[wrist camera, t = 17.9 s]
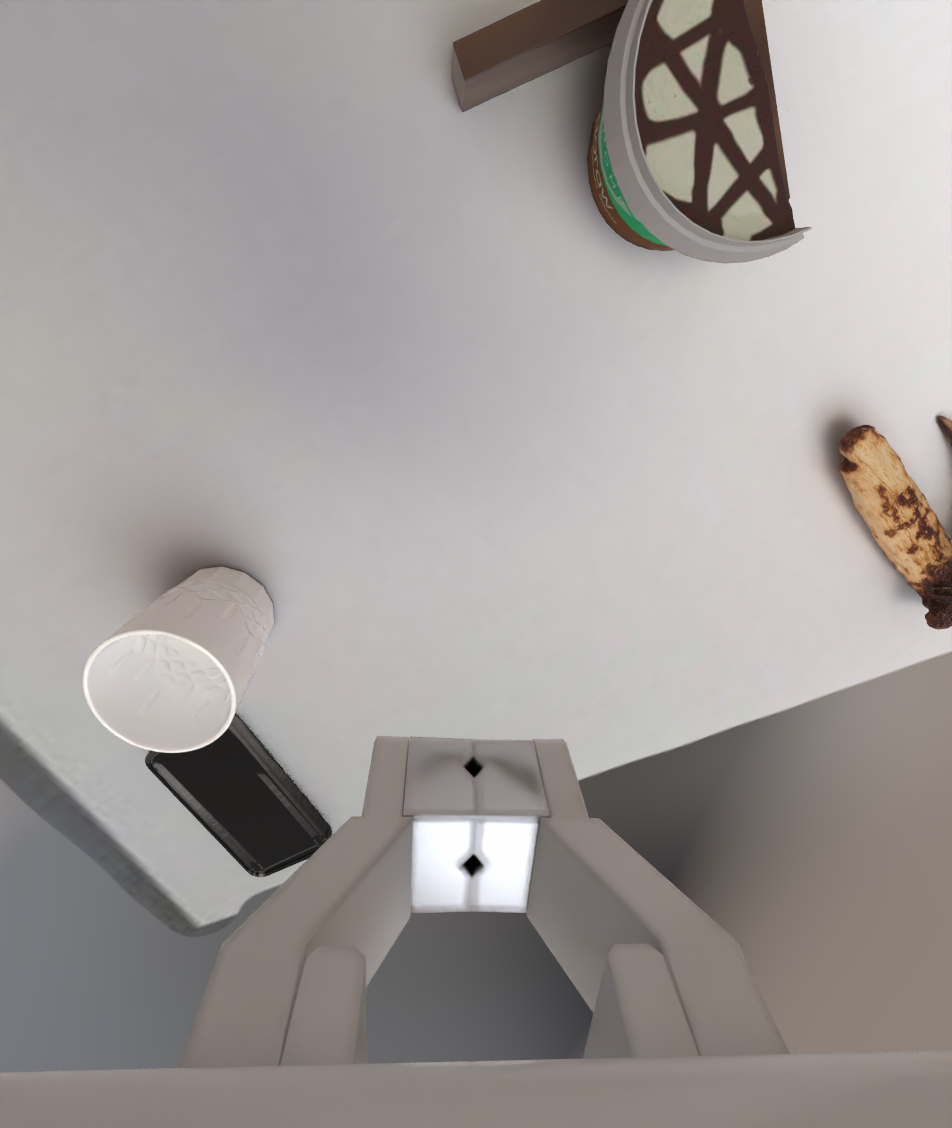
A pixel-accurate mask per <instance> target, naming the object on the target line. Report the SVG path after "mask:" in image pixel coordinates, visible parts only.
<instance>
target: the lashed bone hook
mask: <svg viewBox="0 0 952 1128" xmlns="http://www.w3.org/2000/svg"><path fill="white" fill-rule="evenodd" d="M938 422H939V425H940V427H941V429H942V431H943V432H944V434H945V436H946V437H947V439H948V440H949V442H950V444H951V446H952V421H951V420H949V419H947V418H945V417H938ZM839 451H840V453H841V454H843V455H844V456H845V458H844V460H843V462H842V463H841V468H840V472H841V474H842V475H843V477H844V480H845V483H846V486H847V488H848V489H849V491H850V493H851V496H852V499H853V504H854V506H855V508H856V509H857V510H858V512H859V513H860V514H861V515H862V517H863V519H864V521H865V522H866V524H867V525H868V526H869V528H870V530H871V533H872V535H873V537H874V538H875V540H876V542H877V544H878V546H879V547H881V548H882V549H883V551H884V553H885V555H886V557H887V558H888V559H889V560H890V561H891V562H892V563H893V566H894V567H895V569H896V570H897V571H898V572H900V573H901V574H902V575H903V576H904V577H905V578H906V579H907V582H908V584H909V585H910V586H911V587H912V588H914V589H915V590H916V591H917V593H918V594H919V595H920V596H921V597H922V603H923V605H924V606H925V607H926V608H928V609H929V612H928V613H927V614H926V615H925V619H926V620H927V624H928V625H929V626H930V627H932V628H935V629H945V628H949V627H950V626H952V543H951V540H950V539H949V538H948V537H947V536H946V534H945V532H944V529H943V527H942V525H941V523H940V522H939V520H938V519H937V516H936V515H935V513H934V512H933V511H932V510H931V508H930V507H929V505H928V503H927V501H926V498H925V497H924V495H923V494H922V493H921V492H920V490H919V489H918V487H917V485H916V484H915V482H914V481H913V480H912V479H911V478H910V477H909V475H908V474H907V472H906V471H905V468H904V466H903V464H902V462H901V459H900V458H899V456H898V455H897V454H896V453H895V451H894V450H893V449H892V448H891V447H890V446H889V444H888V442H887V440H886V439H885V438H884V437H883V436H882V435H880V434H878V433H877V432H876V430H875V428H874V427H872V426H870V425H862V426H858V427H856V428H854V429H852V430H850V431H849V432H847V433H846V434H845V435H844V436H843V437H842V438H841V440H840V444H839Z"/></svg>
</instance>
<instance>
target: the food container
mask: <svg viewBox="0 0 952 1128" xmlns="http://www.w3.org/2000/svg"><path fill="white" fill-rule="evenodd" d="M587 161H588V173H589V183H590V187H591V191H592V195H593V198H594V201H595V203H596V205H597V207H598V210H599V212H600V213H601V215H602V216H603V218H604V219H605V221H606V222H607V224H608V225H609V226H610V227H611V228H612V229H613V230H614V231H615V232H616V233H617V234H618V235H620V236H621V237H622V238H624V239H625V240H626V241H628V242H630V243H632V244H634V245H636V246H639V247H643V248H646V249H650V250H660V251H667V250H676V251H678V252H680V253H682V254H684V255H686V256H689V257H693V258H696V259H699V260H702V261H708V262H717V263H739V262H748V261H752V260H757V259H761V258H765V257H768V256H771V255H773V254H776V253H778V252H780V251H783V250H785V249H787V248H789V247H791V246H792V245H794V244H795V243H797V242H798V241H800V240H801V239H803V238H804V236H803V232H806V231H808V230H810V229H811V227H805V228H795V225H794V220H793V213H792V208H791V206H790V203H789V200H788V197H787V193H786V190H785V185H784V180H783V175H782V171H781V166H780V161H779V155H778V149H777V144H776V137H775V129H774V122H773V114H772V108H771V102H770V96H769V89H768V84H767V80H766V76H765V72H764V69H763V65H762V62H761V58H760V55H759V52H758V49H757V46H756V43H755V40H754V37H753V33H752V30H751V26H750V23H749V19H748V16H747V12H746V9H745V5H744V0H628V2H627V5H626V7H625V10H624V12H623V15H622V17H621V19H620V22H619V24H618V27H617V29H616V33H615V37H614V40H613V44H612V48H611V51H610V55H609V58H608V65H607V72H606V79H605V85H604V100H603V102H602V104H601V107H600V109H599V111H598V114H597V116H596V118H595V121H594V123H593V126H592V132H591V138H590V144H589V150H588V156H587Z"/></svg>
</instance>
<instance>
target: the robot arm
mask: <svg viewBox="0 0 952 1128" xmlns="http://www.w3.org/2000/svg"><path fill="white" fill-rule="evenodd" d="M454 911H456V912H457V911H484V912H523V913H527V917H528V918H529V920H530V921H531V923H532V924H533V926H534V927H535V929H536V930H537V931H538V933H539V934H540V936H541V937H542V939H543V940H544V942H545V943H546V945H547V946H548V948H549V949H550V950H551V952H552V953H553V955H554V956H555V958H556V959H557V961H558V962H559V963H560V965H561V966H562V968H563V969H564V971H565V972H566V974H567V975H568V977H569V978H570V980H571V981H572V982H573V984H574V985H575V987H576V988H577V990H578V991H579V993H580V994H581V996H582V997H583V998H584V1000H585V1001H586V1003H587V1004H588V1006H589V1007H590V1009H591V1010H592V1012H593V1013H594V1015H593V1018H592V1022H591V1027H590V1031H589V1035H588V1040H587V1044H586V1048H585V1053H584V1057H583V1059H554V1060H515V1061H514V1060H510V1061H468V1062H425V1063H382V1064H367V1021H366V1020H367V1019H366V1018H367V1016H366V987H367V985H368V983H369V982H370V981H371V979H372V977H373V976H374V974H375V972H376V971H377V969H378V968H379V966H380V965H381V963H382V961H383V960H384V958H385V957H386V955H387V953H388V952H389V950H390V949H391V947H392V945H393V944H394V942H395V941H396V939H397V937H398V936H399V934H400V933H401V931H402V929H403V928H404V926H405V925H406V923H407V922H408V920H409V918H410V913H425V912H427V913H428V912H454ZM0 1128H952V1050H933V1051H891V1052H890V1051H889V1052H888V1051H887V1052H844V1053H802V1054H790V1053H789V1051H788V1048H787V1046H786V1044H785V1042H784V1040H783V1038H782V1036H781V1034H780V1032H779V1029H778V1027H777V1026H776V1023H775V1021H774V1019H773V1017H772V1015H771V1013H770V1011H769V1009H768V1006H767V1004H766V1002H765V1000H764V998H763V996H762V994H761V992H760V990H759V987H758V985H757V983H756V982H755V979H754V977H753V975H752V973H751V971H750V968H749V966H748V964H747V962H746V960H745V958H744V956H743V954H742V952H741V950H740V947H739V945H738V944H737V941H736V940H735V939H734V938H733V937H732V936H730V935H729V934H728V933H727V932H726V931H725V930H724V929H722V928H721V927H720V926H719V925H718V924H717V923H716V922H714V920H712V919H711V918H710V917H709V916H708V915H707V914H706V913H705V912H703V911H702V910H701V909H700V908H699V907H698V906H697V905H695V904H694V903H693V902H692V901H691V900H690V899H689V898H688V897H687V896H685V895H684V894H683V893H682V892H681V891H680V890H679V889H678V888H676V887H675V886H674V885H673V884H672V883H671V882H670V881H668V880H667V879H666V878H665V877H664V876H663V875H662V874H661V873H660V872H658V871H657V870H656V869H655V868H654V867H653V866H652V865H651V864H649V863H648V862H647V861H646V860H645V859H644V858H643V857H641V856H640V855H639V854H638V853H637V852H636V851H635V850H634V849H633V848H631V847H630V846H629V845H628V844H627V843H626V842H625V841H623V840H622V839H621V838H620V837H619V836H618V835H617V834H615V833H614V832H613V831H612V830H611V829H610V828H609V827H608V826H607V825H606V824H604V823H603V822H602V821H601V820H600V819H599V818H589V817H588V813H587V810H586V807H585V804H584V800H583V797H582V794H581V790H580V787H579V783H578V780H577V777H576V773H575V770H574V767H573V763H572V760H571V757H570V753H569V750H568V747H567V743H566V742H565V741H564V740H563V739H532V740H480V739H454V738H429V737H410V738H408V737H391V736H377V738H376V740H375V742H374V747H373V753H372V759H371V765H370V771H369V777H368V782H367V788H366V794H365V800H364V806H363V812H362V816H356V817H351V818H350V819H349V820H348V821H347V822H346V823H345V824H343V825H342V826H341V827H340V828H339V829H338V830H337V831H336V832H335V833H334V834H333V835H332V836H331V837H330V838H329V839H328V840H327V841H326V842H325V843H324V844H323V845H322V846H321V847H320V848H319V849H318V850H317V851H316V852H315V853H314V854H313V855H312V856H311V857H310V858H309V859H308V860H307V861H306V862H305V863H304V864H303V865H302V866H301V867H300V868H299V869H298V870H297V871H296V872H295V873H294V874H293V875H292V876H291V877H289V878H288V879H287V880H286V881H285V882H284V883H283V884H282V885H281V886H280V887H279V888H278V889H277V890H276V891H275V892H274V893H273V894H272V895H271V896H270V897H269V898H268V899H267V900H266V901H265V902H264V903H263V904H262V905H261V906H260V907H259V908H258V909H257V910H256V911H255V912H254V913H253V914H252V915H251V916H250V917H249V918H248V919H247V920H246V921H245V922H244V923H243V924H242V925H241V926H240V927H239V928H238V929H236V931H234V933H232V934H231V935H230V936H229V937H228V938H227V939H226V940H225V941H224V942H223V943H222V946H221V948H220V951H219V954H218V957H217V960H216V962H215V965H214V968H213V970H212V973H211V976H210V978H209V981H208V984H207V987H206V989H205V992H204V995H203V997H202V1000H201V1003H200V1006H199V1008H198V1011H197V1014H196V1016H195V1019H194V1022H193V1025H192V1028H191V1030H190V1033H189V1036H188V1039H187V1041H186V1044H185V1046H184V1049H183V1052H182V1055H181V1057H180V1060H179V1063H178V1066H177V1068H167V1069H124V1070H81V1071H39V1072H0Z"/></svg>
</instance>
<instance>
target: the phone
mask: <svg viewBox="0 0 952 1128" xmlns="http://www.w3.org/2000/svg"><path fill="white" fill-rule="evenodd" d="M145 763H146V765H147V767H148V768H149V769H150V770H151V771H152V773H153V774H154V775H155V776H156V777H157V778H158V779H159V780H160V781H161V782H162V783H163V784H164V785H165V786H166V787H167V788H168V789H169V790H170V791H171V792H172V793H173V794H174V796H175V797H176V798H177V799H178V800H179V801H180V802H181V803H182V804H183V805H184V806H185V807H186V808H187V809H188V810H189V811H190V812H191V813H192V814H193V815H194V816H195V818H196V819H197V820H198V821H199V822H200V823H201V824H202V825H203V826H204V827H205V828H206V829H207V830H208V831H209V832H210V833H211V834H212V835H213V836H214V837H215V838H216V839H217V841H218V842H219V843H220V844H221V845H222V846H223V847H224V848H225V849H226V850H227V851H228V852H229V853H230V854H231V855H232V856H233V857H234V858H235V859H236V860H237V861H238V863H239V864H240V865H241V866H242V867H243V868H244V869H245V870H246V871H247V872H248V873H249V874H251V875H253V876H256V877H265V876H268V875H270V874H273V873H275V872H277V871H280V870H282V869H285V868H287V867H289V866H292V865H294V864H296V863H299V862H301V861H303V860H306V859H308V858H310V857H311V856H312V855H313V854H314V853H315V852H316V851H317V850H318V849H319V848H320V847H321V846H322V845H323V844H324V843H325V842H326V841H327V840H328V839H329V838H330V837H331V835H332V831H331V829H330V827H329V826H328V825H327V823H326V822H325V821H324V820H323V819H322V817H321V816H320V815H319V814H318V813H317V811H316V810H315V809H314V808H313V807H312V805H311V804H310V803H309V802H308V801H307V799H306V798H305V797H304V796H303V795H302V793H301V792H300V791H299V790H298V789H297V787H296V786H295V785H294V784H293V783H292V781H291V780H290V779H289V778H288V777H287V775H286V774H285V773H284V772H283V770H282V769H281V768H280V767H279V766H278V764H277V763H276V762H275V761H274V760H273V758H272V757H271V756H270V755H269V754H268V752H267V751H266V750H265V749H264V748H263V746H262V745H261V744H260V743H259V742H258V740H257V739H256V738H255V737H254V736H253V734H252V733H251V732H250V731H249V730H248V728H247V727H246V726H245V725H244V724H243V722H242V721H241V720H240V719H239V718H238V717H237V716H236V715H234V717H233V719H232V722H231V724H230V725H229V727H228V728H227V730H226V731H225V732H224V733H223V734H222V735H221V736H220V737H219V738H218V739H216V740H215V741H214V742H212V743H210V744H208V745H206V746H204V747H202V748H199V749H196V750H192V751H188V752H180V753H163V752H156V751H151V750H150V752H149V753H148V754H147V756H146V758H145Z"/></svg>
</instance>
